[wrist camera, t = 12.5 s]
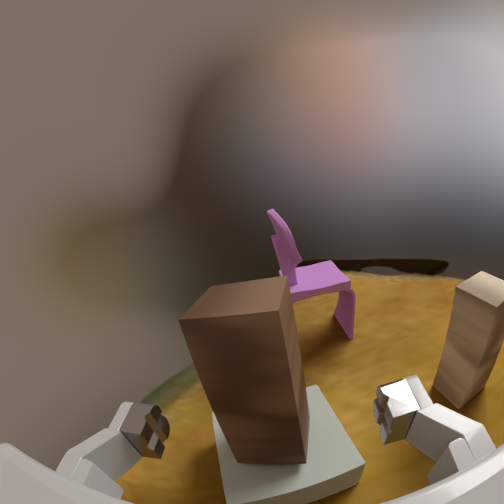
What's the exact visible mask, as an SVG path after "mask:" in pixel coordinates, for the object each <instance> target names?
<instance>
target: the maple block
mask: <svg viewBox="0 0 504 504" xmlns="http://www.w3.org/2000/svg"><path fill="white" fill-rule="evenodd" d="M503 340H504V280H501V279H499V278H496V277H494V276H492V275H490V274H487V273H485V272H482V271H481V272H479V273H477V274H476V275H475V276H472V277H471V278H469V279H467V280H466V281H464V282H462V283H461V284H459V285H457V286H456V288H455V295H454V301H453V307H452V313H451V318H450V323H449V328H448V332H447V337H446V341H445V345H444V349H443V353H442V356H441V360H440V363H439V367H438V370H437V373H436V376H435V379H434V382H433V385H432V386H434V387H435V388H436V389H437V390H438V391H439V392H440V393H441V394H442V395H443V396H444V397H445V398H447V399H448V400H449V401H450V402H451V403H452V404H453V405H454V406H455V407H456V408H457V409H458V410H459V409H460V408H462V407H463V406H464V405H465V404H466V403H467V402H469V401H470V400H471V399H472V398H473V397H474V396H475V395H476V394H477V393H478V392H479V391H480V390H481V389H482V388H484V387H485V385H486V382H487V380H488V378H489V376H490V374H491V371H492V369H493V367H494V364H495V362H496V359H497V357H498V354H499V351H500V349H501V346H502V343H503Z"/></svg>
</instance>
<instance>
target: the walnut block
mask: <svg viewBox="0 0 504 504" xmlns="http://www.w3.org/2000/svg"><path fill="white" fill-rule="evenodd" d="M179 322H180V325H181V328H182V331H183V334H184V337H185V340H186V342H187V345H188V348H189V351H190V354H191V357H192V359H193V362H194V365H195V367H196V370H197V373H198V375H199V378H200V380H201V383H202V385H203V388H204V390H205V393H206V395H207V398H208V400H209V402H210V405H211V407H212V410H213V412H214V414H215V416H216V419H217V421H218V423H219V425H220V428H221V430H222V432H223V434H224V436H225V438H226V441H227V443H228V445H229V447H230V449H231V451H232V453H233V455H234V457H235V459H236V461H237V463H247V464H306V461H307V450H308V437H309V422H310V415H309V407H308V400H307V393H306V386H305V379H304V372H303V366H302V359H301V353H300V346H299V340H298V334H297V328H296V322H295V316H294V310H293V304H292V299H291V293H290V287H289V282H288V276H280V277H274V278H267V279H260V280H253V281H246V282H239V283H231V284H223V285H216V286H211V287H210V288H209V289H208V290H207V291H206V292H205V293H204V294H203V295H202V296H201V297H200V298H199V299H198V300H197V301H196V302H195V303H194V304H193V305H192V307H190V309H189V310H188V311H187V312H186V313H185V314H184V315H183V316H182V317H181V318H180V319H179Z"/></svg>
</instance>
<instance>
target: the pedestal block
mask: <svg viewBox="0 0 504 504" xmlns="http://www.w3.org/2000/svg"><path fill="white" fill-rule="evenodd" d="M306 393H307V400H308V407H309V415H310V422H309V437H308V450H307V461H306V464H247V463H237V461H236V459H235V457H234V455H233V453H232V451H231V449H230V447H229V445H228V443H227V441H226V438H225V436H224V434H223V432H222V430H221V428H220V425H219V423H218V421H217V419H216V416H215V414H214V412H212V418H213V425H214V433H215V440H216V446H217V453H218V459H219V465H220V471H221V477H222V483H223V488H224V493H225V499H226V504H308V503H311V502H314V501H317V500H319V499H322V498H325V497H328V496H330V495H333V494H335V493H338V492H340V491H343V490H345V489H348V488H350V487H352V486H354V485H357V484H358V483H359V480H360V478H361V475H362V472H363V469H364V467H365V464H366V463H365V461H364V460H363V458H362V456H361V455H360V453H359V452H358V450H357V449H356V447H355V445H354V444H353V442H352V441H351V439H350V437H349V436H348V434H347V433H346V431H345V429H344V428H343V426H342V425H341V423H340V421H339V420H338V418H337V417H336V415H335V413H334V412H333V410H332V408H331V407H330V405H329V404H328V402H327V400H326V399H325V397H324V395H323V394H322V392H321V391H320V389H319V387H318V386H317V384H316V385H313V386H310V387H307V388H306Z"/></svg>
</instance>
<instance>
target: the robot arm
mask: <svg viewBox="0 0 504 504" xmlns="http://www.w3.org/2000/svg"><path fill="white" fill-rule="evenodd" d="M376 395H377V398H376V399H375V400H374V416H375V420H376V423H378V424H379V425H381V428H380V431H379V432H380V435H381V438H382V441H383V444H384V445H385V444H389V443H392V442H396V441H399V440H402V439H405V440H406V441H407V442H409V443H410V444H411V445H413V446H414V447H415V448H417V449H418V450H419V451H421V452H422V453H423V454H425V455H426V456H427V457H429V458H430V459H432V460H433V461H434V462H436V463H435V465H434V466H433V467H432V469H431V470H430V471H429V473H428V474H427V478H428V481H429V484H430V486H427V487H425V488H422V489H420V490H418V491H415V492H412V493H410V494H407V495H404V496H402V497H399V498H396V499H393V500H390V501H387V502H383V503H380V504H504V444H502V445H501V446H499V447H498V448H496V447H495V445H494V444H493V442H492V440H491V438H490V436H489V435H488V433H487V431H486V429H485V428H484V426H483V424H481V423H478V422H476V421H474V420H472V419H470V418H467V417H465V416H463V415H461V414H459V413H457V412H454V411H452V410H450V409H448V408H446V407H444V406H442V405H440V404H438V403H435V404H433V402H432V401H431V399H430V397H429V395H428V394H427V392H426V390H425V388H424V387H423V385H422V383H421V382H420V380H419V378H418V377H417V376H416V375H414V376H410V377H407V378H404V379H400V380H397V381H393V382H390V383H387V384H383V385H380V386H378V387H377V389H376ZM161 412H162V411H161V409H160V408H159V406H155V405H147V404H139V403H131V402H124V403H123V404H121V406H120V408H119V409H118V411H117V413H116V415H115V417H114V419H113V420H112V422H111V424H110V426H109V428H108V429H107V428H105V429H103V430H102V431H100V432H98V433H97V434H95V435H94V436H92V437H90V438H89V439H87V440H85V441H83V442H82V443H80V444H78V445H77V446H75V447H73V448H72V449H70V450H68V451H67V452H66V454H65V456H64V457H63V459H62V461H61V463H60V464H59V466H58V468H57V470H56V471H53V470H51V469H50V468H48V467H46V466H44V465H42V464H41V463H39V462H37V461H36V460H34V459H32V458H31V457H29V456H27V455H26V454H24V453H23V452H21V451H20V450H18V449H17V448H15V447H14V446H12V445H11V444H9V443H3V444H0V504H134V503H131V502H127V501H124V500H121V496H122V494H123V489H122V488H121V487H120V486H119V485H118V484H117V483H115V481H116V480H118V479H119V478H120V477H121V476H122V475H123V474H125V473H126V472H127V471H128V470H129V469H130V468H131V467H133V466H134V465H135V464H136V463H137V462H138V461H139V460H140V459H141V458H143V457H150V458H156V459H161V456H162V454H163V451H164V448H165V446H164V444H163V442H164V441H165V440H166V439H168V436H169V430H170V426H169V423H168V421H167V419H166V418H165V417H164V416H162V415H161ZM142 456H143V457H142Z"/></svg>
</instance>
